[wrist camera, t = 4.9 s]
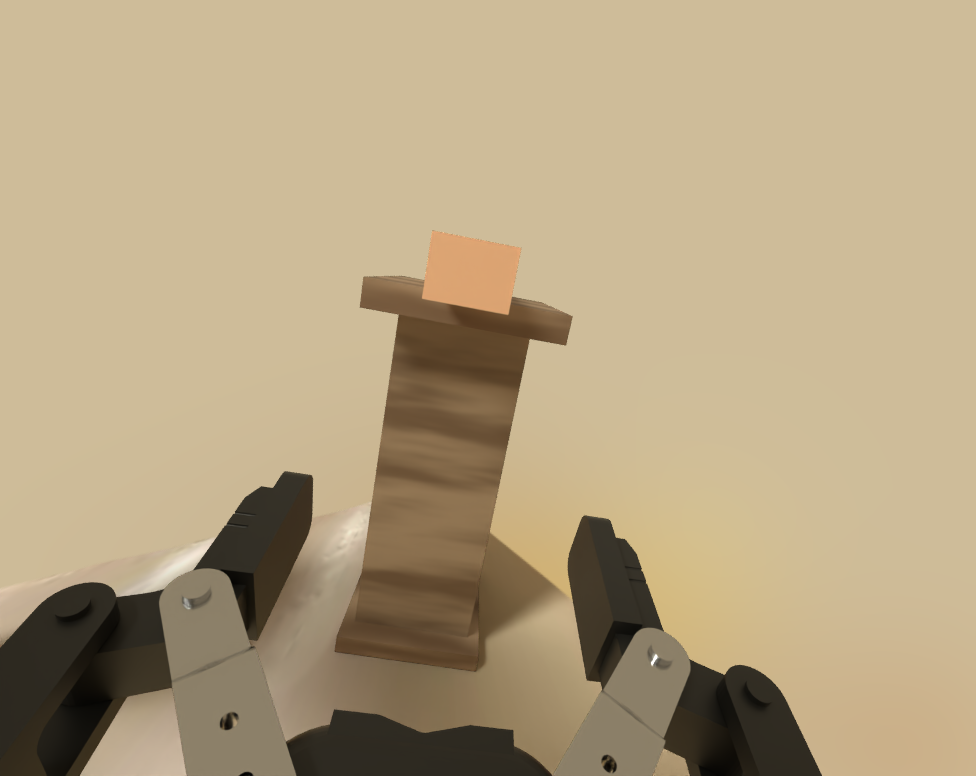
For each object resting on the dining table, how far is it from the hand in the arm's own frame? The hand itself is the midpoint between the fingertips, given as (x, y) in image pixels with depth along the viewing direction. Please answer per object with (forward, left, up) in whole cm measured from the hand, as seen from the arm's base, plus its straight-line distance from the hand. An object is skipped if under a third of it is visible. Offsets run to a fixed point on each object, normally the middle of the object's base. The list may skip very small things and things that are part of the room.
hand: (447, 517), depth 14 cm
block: (-8, +21, +6) cm, 23 cm away
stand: (-10, +25, -25) cm, 37 cm away
